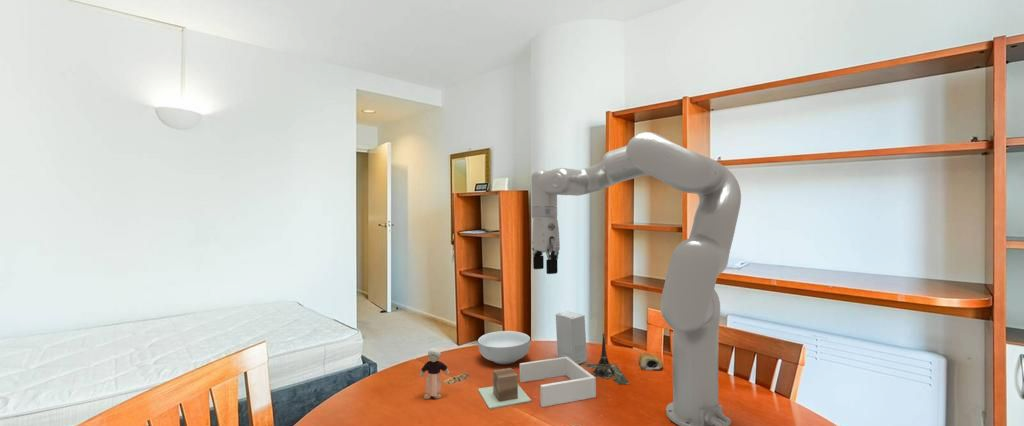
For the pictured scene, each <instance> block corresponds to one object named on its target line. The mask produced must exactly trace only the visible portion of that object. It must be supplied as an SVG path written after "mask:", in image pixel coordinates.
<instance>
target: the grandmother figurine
mask: <svg viewBox="0 0 1024 426" xmlns="http://www.w3.org/2000/svg"><path fill="white" fill-rule="evenodd" d="M441 355H442V354H441V351H440V350H439V349H438V348H437V347H431V348H430V349H428V351H427V356H428V361H427V362H426V363H424V365H423V367H422V368H421V369H420V373H419V374H418V375H419V377H420V378H423V376H424V374H425V372H426V378H425V379H426V380H425V381H426V382H425V394H424V395H423V399H424V400H428V399H429V400H430V399H431V398H432V397H433V399H441V398H442V394H441V393H442V391H441V390H442V377H441V376H442V375H441V371H442V372H444V373H445V375H446V376H449V375H450V371H449V369H448V366H447V365H446V364H445V363H444V362H442V361H439V358H440V357H441Z"/></svg>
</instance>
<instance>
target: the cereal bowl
mask: <svg viewBox="0 0 1024 426" xmlns="http://www.w3.org/2000/svg"><path fill="white" fill-rule="evenodd" d="M477 340H478V341H477V344H478V345H477V346H478V350H479V352H480V354H481V355H482V357H483V358H484V359H486V360H488V361H491V362H493V363H495V364H498V365H511V364H513V363H516V362H517V361H518V360H520V359H522V358H524V357H526V355H527V353H529V350H530V347H531V336H529V335H528V334H526V333H524V332H519V331H515V330H514V331H513V330H500V331H493V332H488V333H485V334H483V335H481V336H480V337H479V338H478V339H477Z"/></svg>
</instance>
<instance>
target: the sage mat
mask: <svg viewBox="0 0 1024 426" xmlns="http://www.w3.org/2000/svg"><path fill="white" fill-rule="evenodd" d="M477 391H478V392H479V394H480V396H481V398H482V400H484V403H485V404H486V407H488V409H489V410H493V409H499V408H504V407H509V406H515V405H521V404H525V403H526V404H527V403H531V402H532V399H531V398H530V397H529V395H528V394H527V393H526V392H525V391H524V390H523V389H522V387H521V386H520V385H519V384H518V399H513V400H507V401H502V402H499V401H498V400H497V398H496V397H495V395H494V394H493V385H492V386H487V387H480V388H478V389H477Z"/></svg>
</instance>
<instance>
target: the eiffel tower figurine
mask: <svg viewBox="0 0 1024 426" xmlns="http://www.w3.org/2000/svg"><path fill="white" fill-rule="evenodd" d="M605 337H606V334H605V333H604V332H603V333H602V341H601V342H602V344H601V354H600V359H599V361H598V363H584V367H585V368H592V369H594V370H593V371H592V372H591V373H590V374H591V375H593V376H594V377H595V378H596V377H598V378H601V379H604V380H607V381H608V380H610V379H611V378H613V379H612V382H613V383H615V384H618V385H629V384H631V383H630V381H629V380H628V379H627V378H626V376H625V374H624V373H623V372H622V371H621V369H620V368H619V367H618V365H616V364H612V363H611V362H609V359H608V355H607V350H606V338H605Z"/></svg>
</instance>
